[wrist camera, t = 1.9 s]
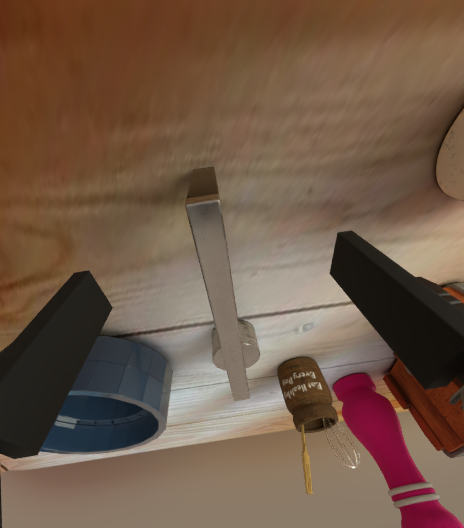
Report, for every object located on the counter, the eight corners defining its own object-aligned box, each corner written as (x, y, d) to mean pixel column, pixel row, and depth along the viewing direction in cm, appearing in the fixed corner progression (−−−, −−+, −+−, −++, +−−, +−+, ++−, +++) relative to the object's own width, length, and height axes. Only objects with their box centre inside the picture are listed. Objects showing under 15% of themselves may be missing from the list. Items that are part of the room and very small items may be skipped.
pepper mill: (325, 395, 37) (420, 615, 20) (335, 374, 33) (465, 629, 16) (364, 389, 37) (488, 601, 21) (379, 368, 33) (548, 611, 17)
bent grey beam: (255, 343, 26) (269, 407, 20) (215, 349, 26) (218, 415, 20) (240, 162, 14) (265, 192, 8) (166, 173, 14) (138, 211, 8)
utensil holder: (322, 367, 31) (376, 482, 21) (284, 382, 32) (318, 496, 23) (308, 350, 28) (365, 475, 18) (267, 367, 29) (298, 492, 19)
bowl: (-5, 342, 21) (-69, 410, 16) (149, 318, 21) (132, 377, 16) (78, 406, 30) (54, 462, 25) (186, 388, 30) (182, 440, 25)
